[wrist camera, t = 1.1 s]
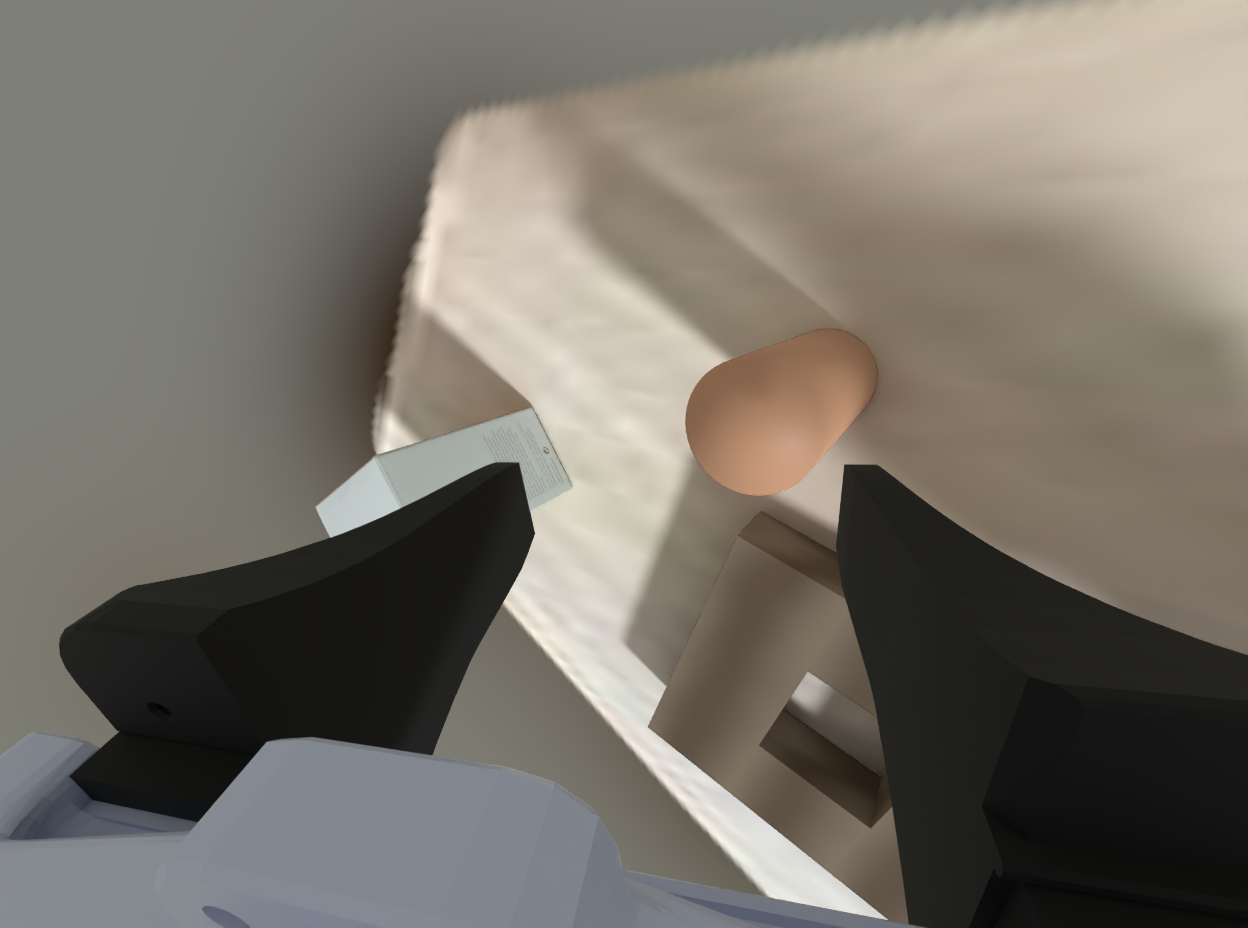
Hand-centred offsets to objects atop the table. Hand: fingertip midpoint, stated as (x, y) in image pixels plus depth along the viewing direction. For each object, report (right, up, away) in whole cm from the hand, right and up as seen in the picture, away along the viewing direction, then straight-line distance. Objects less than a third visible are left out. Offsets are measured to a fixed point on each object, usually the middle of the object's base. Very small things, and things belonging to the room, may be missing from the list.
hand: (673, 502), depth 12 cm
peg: (+7, +4, +10) cm, 13 cm away
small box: (-8, +1, +22) cm, 24 cm away
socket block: (+10, -11, +14) cm, 20 cm away
